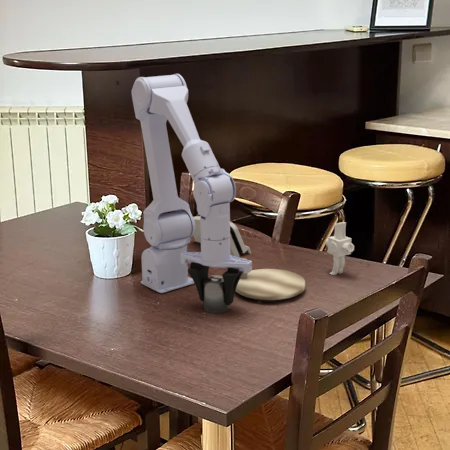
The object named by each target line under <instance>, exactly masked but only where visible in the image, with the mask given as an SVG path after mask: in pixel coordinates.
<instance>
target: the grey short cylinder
mask: <svg viewBox="0 0 450 450" xmlns="http://www.w3.org/2000/svg"><path fill="white" fill-rule="evenodd" d="M203 282H204V301H203V309H204V311H206V312H208V313H210V314H211V313H212V314H222V313H225V312H227V311H229V310H230V305H226V303H225V285H224V280H223V276H222V275H220V274H213V275H208V277H206V278H204V280H203Z"/></svg>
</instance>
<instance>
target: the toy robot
mask: <svg viewBox="0 0 450 450" xmlns="http://www.w3.org/2000/svg"><path fill="white" fill-rule="evenodd" d="M346 226H347V222H345V221H343V222H337V223H336V222H335V223H334V235H333V236H332V235H331V236H329V237H327V238H326V240H325V246H326V247H327V253H328V254H329V255H332V256H333V257H332V261H333V264H332V265H333V267H332V270H331V271H330V272H329V274H331V276H335V275H337V274H343V273H344V272H343V271H344V267H345V264H346V258H345V257H346V256H349V255H352V253H353V252H354V251H355V245H354V244H353V243H352V238H351V237H348V236H346V229H347V227H346Z"/></svg>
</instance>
